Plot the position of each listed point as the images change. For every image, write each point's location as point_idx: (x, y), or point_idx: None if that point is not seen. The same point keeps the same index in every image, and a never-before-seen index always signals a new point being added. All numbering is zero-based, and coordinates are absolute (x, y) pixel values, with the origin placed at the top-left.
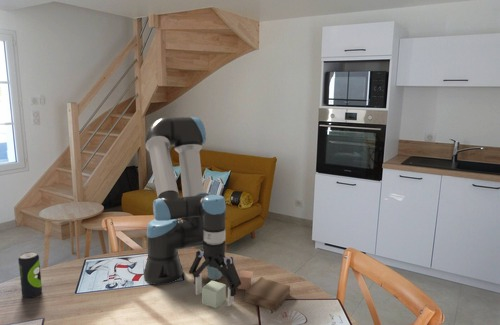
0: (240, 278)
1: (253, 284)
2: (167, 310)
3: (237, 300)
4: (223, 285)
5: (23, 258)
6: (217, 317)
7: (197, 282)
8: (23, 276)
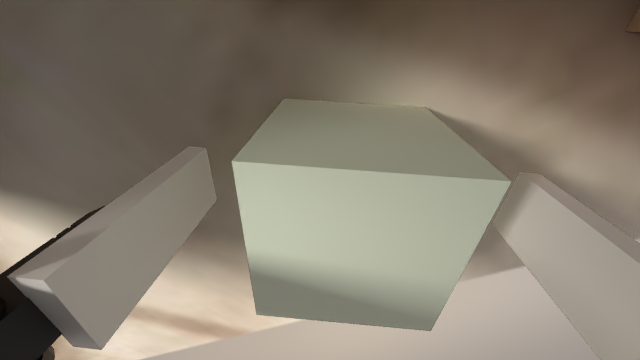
0: None
1: None
2: (198, 299)
3: (539, 60)
4: (473, 214)
5: None
6: None
7: (148, 283)
8: None
